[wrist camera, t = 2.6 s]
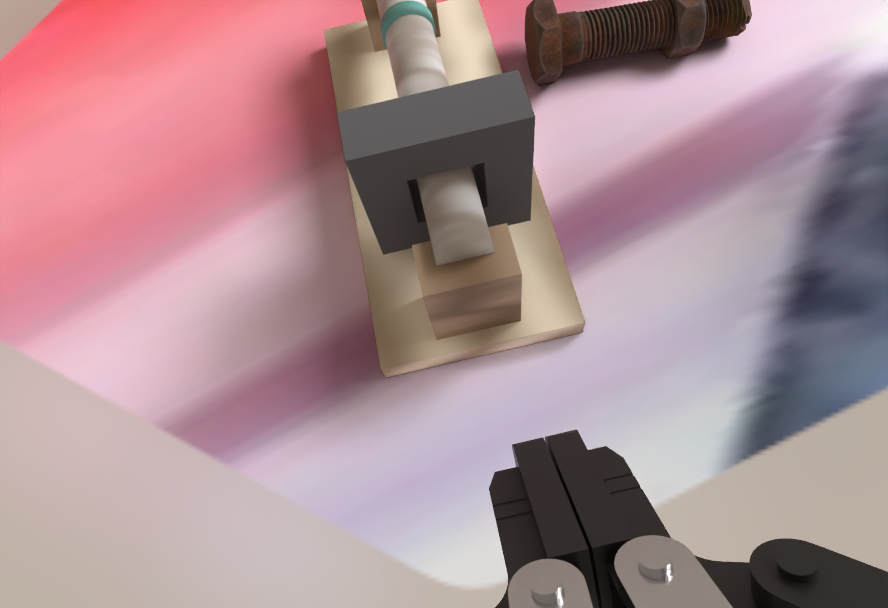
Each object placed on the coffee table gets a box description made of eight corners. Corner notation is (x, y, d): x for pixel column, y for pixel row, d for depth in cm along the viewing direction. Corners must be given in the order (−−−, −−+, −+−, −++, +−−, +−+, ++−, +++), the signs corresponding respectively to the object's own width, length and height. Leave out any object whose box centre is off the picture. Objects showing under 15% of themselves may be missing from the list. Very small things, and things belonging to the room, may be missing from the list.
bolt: (728, 59, 46) (530, 92, 46) (719, -10, 46) (520, 23, 46) (769, 32, 40) (543, 69, 40) (760, -48, 40) (532, -10, 40)
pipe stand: (477, 10, 48) (469, -109, 40) (582, 332, 36) (602, 258, 28) (329, 45, 48) (290, -66, 40) (385, 377, 36) (347, 317, 28)
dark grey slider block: (517, 180, 38) (518, 69, 29) (530, 220, 36) (534, 116, 28) (375, 213, 38) (336, 112, 30) (383, 254, 36) (345, 161, 28)
